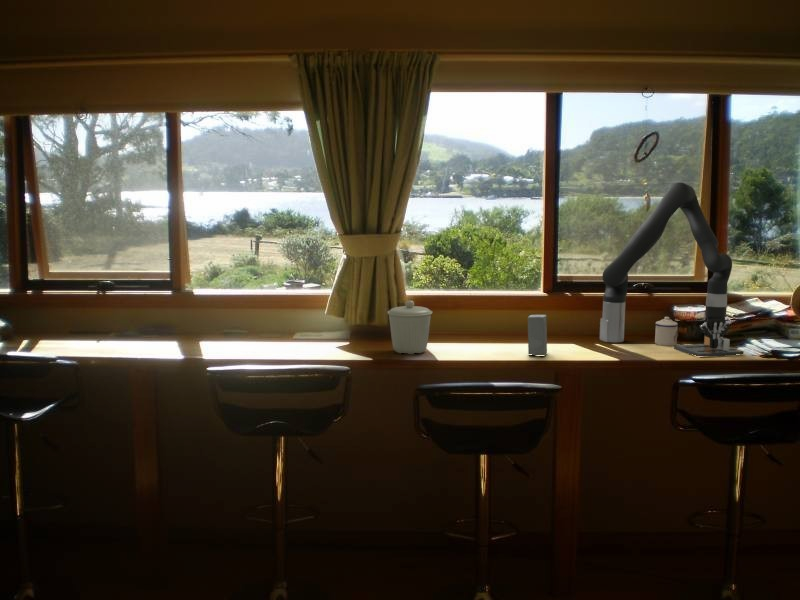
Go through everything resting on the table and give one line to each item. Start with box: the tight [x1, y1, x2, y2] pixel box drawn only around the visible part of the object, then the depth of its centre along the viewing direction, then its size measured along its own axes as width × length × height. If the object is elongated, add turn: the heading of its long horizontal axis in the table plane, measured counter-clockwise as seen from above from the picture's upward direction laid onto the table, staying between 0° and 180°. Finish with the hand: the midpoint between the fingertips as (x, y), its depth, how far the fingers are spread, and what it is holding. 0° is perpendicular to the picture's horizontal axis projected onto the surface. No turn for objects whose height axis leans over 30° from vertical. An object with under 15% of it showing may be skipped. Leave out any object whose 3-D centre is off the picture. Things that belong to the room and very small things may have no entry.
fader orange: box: [703, 335, 710, 346], centre depth 286 cm, size 3×5×5 cm, turn 13°
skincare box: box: [527, 314, 548, 356], centre depth 276 cm, size 8×7×16 cm
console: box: [673, 343, 745, 357], centre depth 282 cm, size 20×17×2 cm
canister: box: [386, 300, 433, 355], centre depth 281 cm, size 18×18×21 cm
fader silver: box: [716, 336, 731, 351], centre depth 278 cm, size 3×5×5 cm, turn 13°
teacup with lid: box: [654, 316, 679, 347], centre depth 298 cm, size 12×9×12 cm
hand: (713, 347), depth 277 cm, fingers closed
